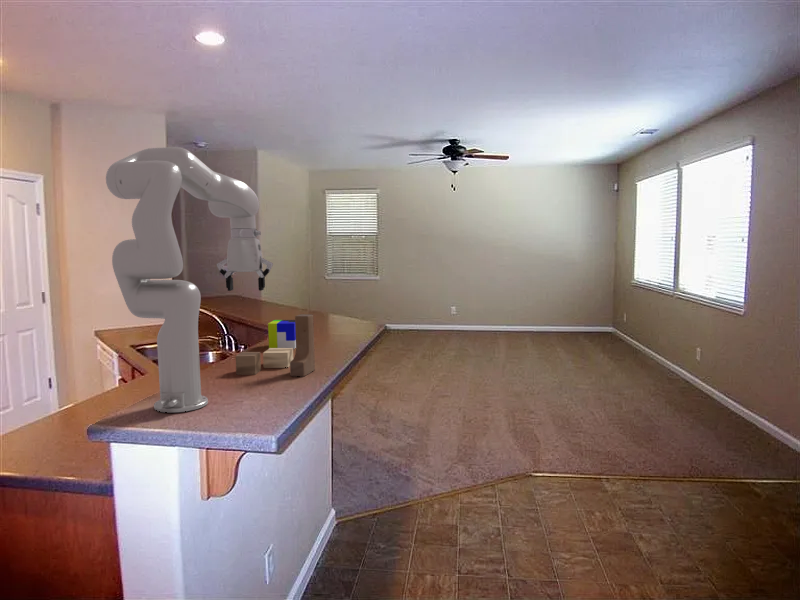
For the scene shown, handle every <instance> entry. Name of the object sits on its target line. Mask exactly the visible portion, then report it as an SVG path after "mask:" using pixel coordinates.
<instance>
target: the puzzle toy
mask: <svg viewBox="0 0 800 600" xmlns="http://www.w3.org/2000/svg"><path fill="white" fill-rule="evenodd" d="M267 330H268V333H267V335H268V349H269V348H293V350H296V349H295V348H296V331H295V319H274V320H272V321H270V322H268V323H267Z"/></svg>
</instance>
